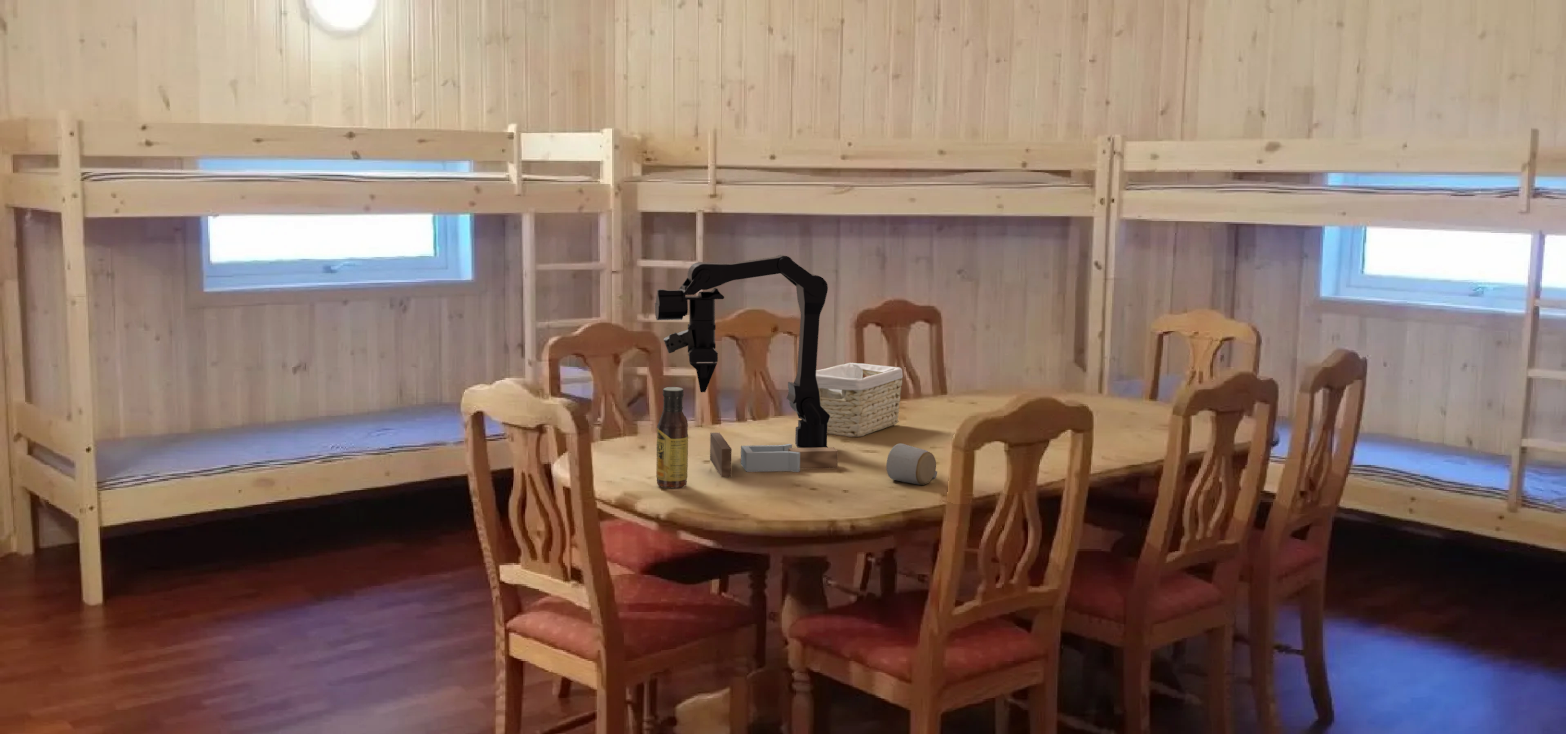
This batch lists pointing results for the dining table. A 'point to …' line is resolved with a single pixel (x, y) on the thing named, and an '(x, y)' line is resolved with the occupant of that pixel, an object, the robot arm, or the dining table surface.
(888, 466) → the ceramic mug
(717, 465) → the backstop
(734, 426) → the dining table surface
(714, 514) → the dining table surface
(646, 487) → the dining table surface
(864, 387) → the storage basket
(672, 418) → the sauce bottle
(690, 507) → the dining table surface
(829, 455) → the rectangular wooden block
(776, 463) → the cradle
